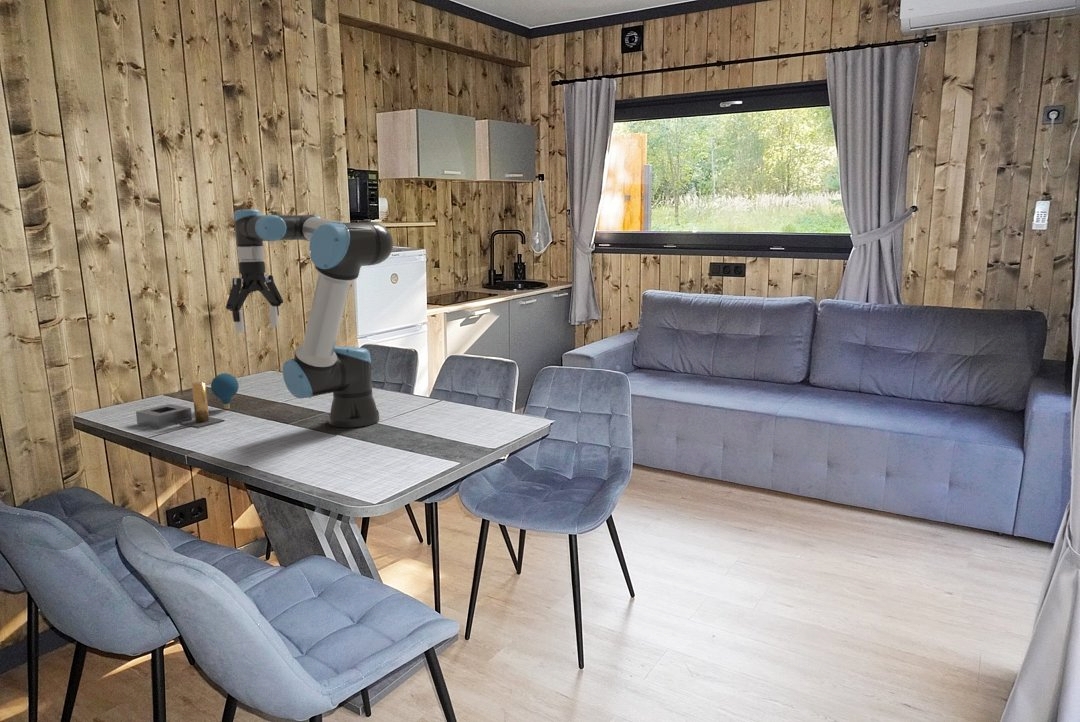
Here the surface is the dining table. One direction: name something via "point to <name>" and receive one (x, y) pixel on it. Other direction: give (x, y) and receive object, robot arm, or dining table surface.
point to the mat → (199, 425)
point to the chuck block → (163, 416)
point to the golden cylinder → (200, 402)
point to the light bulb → (224, 388)
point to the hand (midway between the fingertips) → (257, 329)
